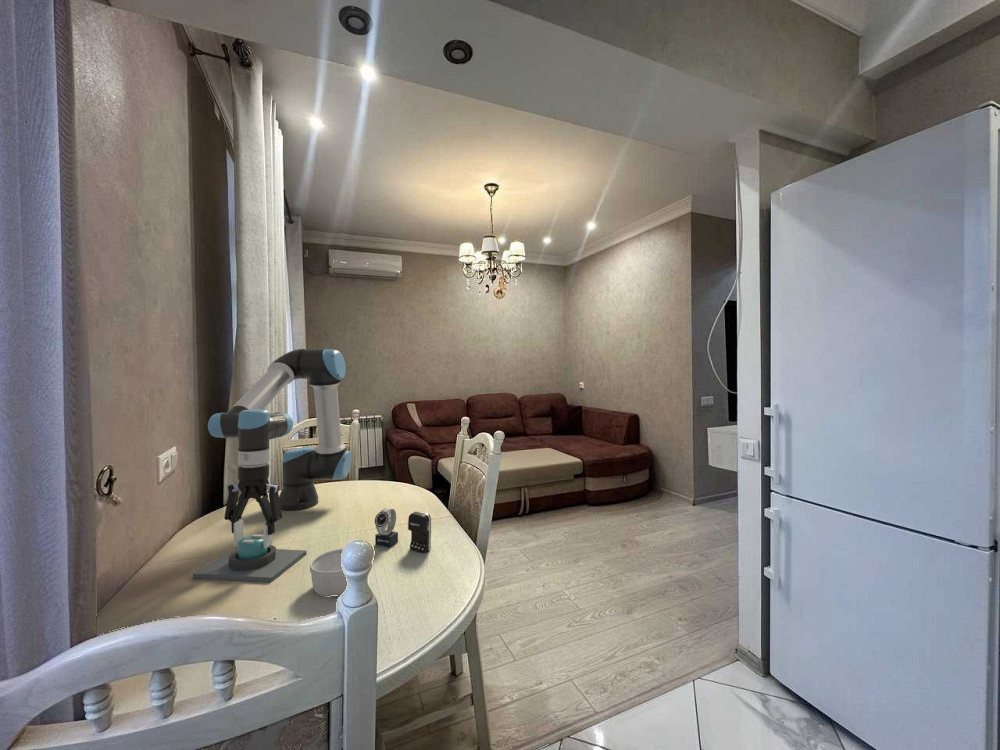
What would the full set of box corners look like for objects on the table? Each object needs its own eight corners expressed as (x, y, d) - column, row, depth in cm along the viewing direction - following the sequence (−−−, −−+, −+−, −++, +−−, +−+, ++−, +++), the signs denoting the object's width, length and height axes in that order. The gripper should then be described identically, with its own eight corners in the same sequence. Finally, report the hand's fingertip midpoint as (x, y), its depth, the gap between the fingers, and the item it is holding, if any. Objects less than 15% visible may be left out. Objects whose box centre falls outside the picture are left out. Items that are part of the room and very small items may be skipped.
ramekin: (308, 605, 93) (308, 576, 93) (310, 579, 105) (310, 552, 105) (367, 593, 98) (367, 565, 98) (363, 569, 110) (363, 544, 110)
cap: (249, 554, 116) (250, 532, 116) (272, 556, 115) (273, 533, 115) (231, 566, 109) (232, 542, 109) (256, 567, 108) (256, 543, 108)
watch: (371, 547, 124) (371, 512, 124) (386, 537, 132) (386, 504, 132) (386, 549, 123) (387, 514, 123) (401, 539, 130) (401, 506, 130)
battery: (406, 549, 123) (406, 513, 123) (414, 545, 126) (414, 509, 126) (423, 555, 119) (423, 517, 119) (431, 550, 123) (431, 513, 123)
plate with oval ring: (237, 551, 121) (237, 539, 121) (306, 554, 119) (306, 542, 119) (192, 577, 105) (192, 564, 105) (271, 582, 103) (271, 568, 103)
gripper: (208, 466, 109) (207, 549, 109) (280, 468, 107) (280, 552, 107) (229, 460, 117) (228, 538, 117) (297, 462, 115) (296, 541, 115)
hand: (253, 545), depth 112 cm, fingers open, 8 cm apart
